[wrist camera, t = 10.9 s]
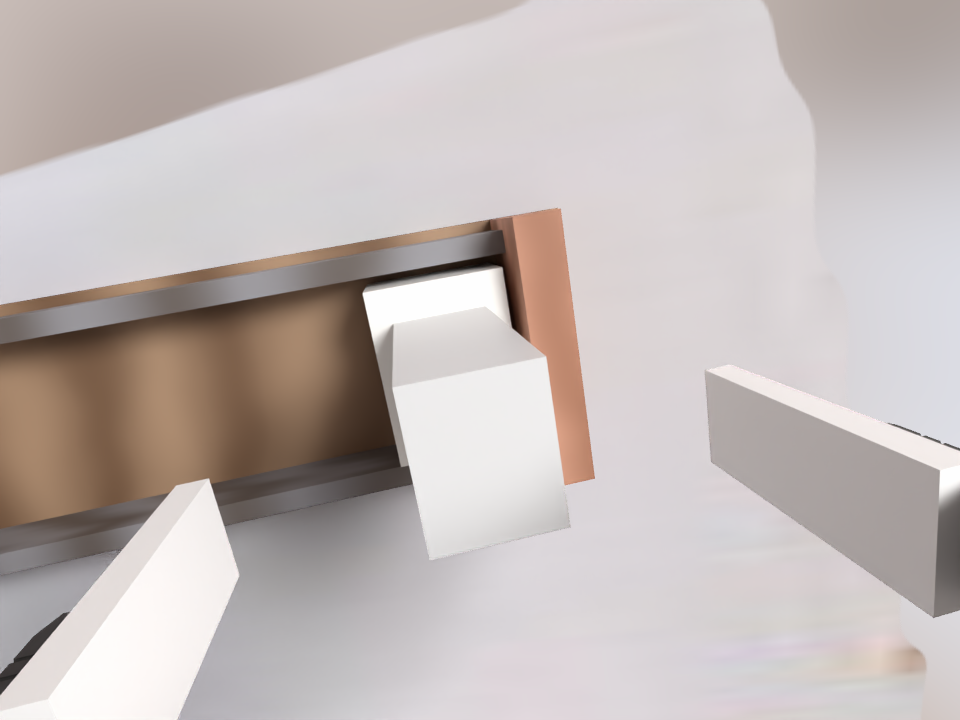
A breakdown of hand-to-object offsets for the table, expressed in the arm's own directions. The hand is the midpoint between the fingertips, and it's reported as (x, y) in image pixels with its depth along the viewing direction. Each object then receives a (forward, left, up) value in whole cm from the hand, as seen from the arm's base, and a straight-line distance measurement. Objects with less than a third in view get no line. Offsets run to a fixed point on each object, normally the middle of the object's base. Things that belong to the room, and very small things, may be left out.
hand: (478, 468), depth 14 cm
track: (-11, 0, -16) cm, 19 cm away
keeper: (0, 0, -14) cm, 14 cm away
